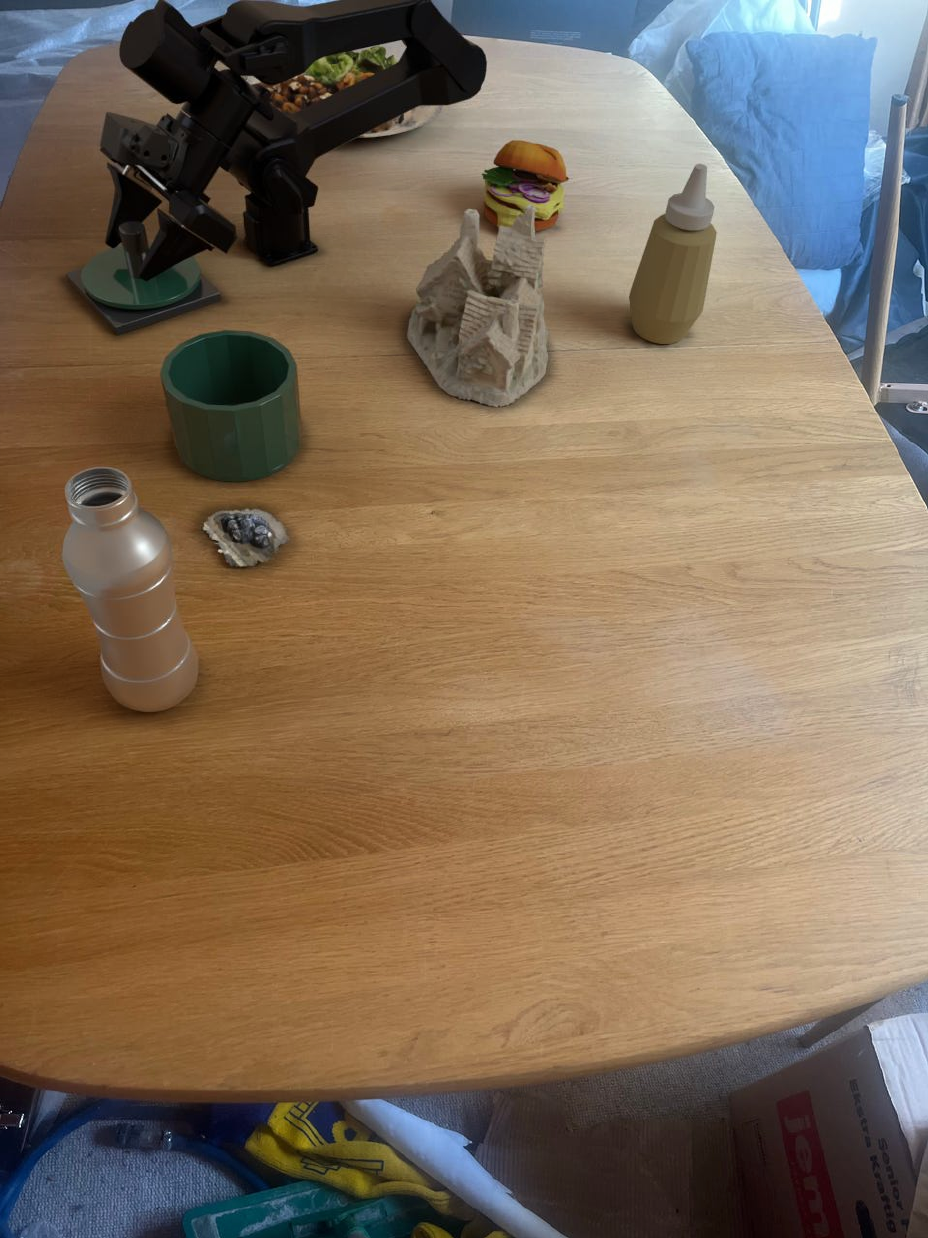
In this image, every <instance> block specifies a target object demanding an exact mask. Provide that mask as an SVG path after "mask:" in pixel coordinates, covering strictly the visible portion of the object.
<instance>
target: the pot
mask: <svg viewBox="0 0 928 1238" xmlns="http://www.w3.org/2000/svg"><path fill="white" fill-rule="evenodd" d="M298 375H299V373H298V365H297V362H296V359H295V358H294V357H293V354H292V352H291V350H290V349H289V348H288V347H286V346H285V345H283V344H282V343H280V342H279V341H278V340H276V339H275V338H274V337H270V336H267V335H264V334H261V333H258V332H255V331H249V330H231V329H223V330H217V331H211V332H205V333H201V334H198V335H195V336H193V337H192V338H188V339H187V340H184V341H183V342H180V343H178V345H176V346H175V347H174V348H173V349H172V350H171V351H170V352H169V353H168V354H167V355H166V356H165V357H164V359H163V363H162V365H161V368H160V371H159V376H160V380H161V385H162V390H163V391H162V392H163V395H164V399H165V405H166V409H167V415H168V419H169V424H170V427H171V428H170V429H171V434H172V437H173V438H172V439H173V442H174V446H175V448H176V452H177V455H178V457H179V460H180V461H181V462H182V463H183V464H184V465H185V466H186V468H188V469H190V470H191V471H193V472H194V473H196V474H197V475H200V476H202V477H204V478H207V479H211V480H215V481H219V482H230V483H240V482H241V483H242V482H249V481H250V482H251V481H255V480H261V479H263V478H267V477H269V476H271V475H273V474H276V473H278V472H280V471H281V470H283V469H284V468H285V467H287V466H288V465H289V464H290V463H291V462H292V461H293V460H294V459H295V458H296V456H297V455H298V454H299V452H300V450H301V449H300V448H301V445H302V432H303V429H302V415H301V403H300V402H301V401H300V387H299V377H298Z"/></svg>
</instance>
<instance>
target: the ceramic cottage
mask: <svg viewBox="0 0 928 1238" xmlns="http://www.w3.org/2000/svg"><path fill="white" fill-rule="evenodd" d="M534 216H535V207H534V206H533V205H531V204H528V205H527V207H526V209H525V214H521V213H520V214H519V215H518V216H517V217H516V219H515V221H514V223H513V225H512V226H511V228H508V227H505V226H501V225H500V226H499V229H498V231H497V235H496V238H495V244H494V248H493V257H492V259H487V258H486V256H485V255H484V252H483V250H482V249H481V248H480V247H479V238H480V237H479V235H480V213H479V212H478V210H477V209H473V208H467V209H465V210H464V211H463V215H462V219H461V223H460V231H459V233H460V234H459V238H457V239H456V240H454V241H453V244H452V245H451V246H450V249H448V250H446V251H445V252H443V254H442V255H441V256H440V257H439V258H438V259H435V260H434V262H433V263H430V264H428V265H427V266H426V269H425V271H424V273H423V276H422V279H421V280H420V281H419V283H418V285H417V286H416V288H415V294H416V295H417V296H418V297H419V301H418V302H417V303H416V306H415V307H414V308H412V310H411V314H410V318H409V320H408V326H407V334H406V338H407V340H408V342H409V343H410V345H411V346H412V347H413V349H414V350H415V352H416V353H417V355H418V357H419V358H420V359H421V361H423V364H424V365H425V366H426V367H427V369H428V370H429V372H430V374H431V377H433V379H434V381H435V382H436V384H437V386H438V387H439V388H440V389H441V390H443V391H444V392H445V393H447V394H448V395H449V396H452V397H456V398H458V399H459V400H462V399H463V400H467V401H471V400H472V401H474V402H477V403H478V402H479V404H480V405H482V404H483V405H487V406H488V407H494V408H499V407H505V406H509V405H510V404H513V403H515V402H516V400H518V399H520V398H521V396H523V395H526V393H528V391H529V390H531V388H533V387H534V386H536V385H537V384H538V383H540V382H541V379H543V378H544V377H545V375H546V373H547V367H548V365H547V364H548V361H549V360H548V359H549V354H548V350H547V344H548V339H549V330H548V329H547V326H546V323H545V316H544V311H545V308H546V307H545V302H544V298H543V294H542V293H541V290H540V289H542V288H543V287H544V278H543V272H544V271H543V266H544V256H545V255H544V254H545V246H546V243H547V238H546V236H540V235H536V231H535V228H534Z"/></svg>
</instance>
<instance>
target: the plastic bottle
mask: <svg viewBox="0 0 928 1238" xmlns="http://www.w3.org/2000/svg"><path fill="white" fill-rule="evenodd" d="M64 496H65V499H66V502H67V505H68V513H69V516H70V518H71V520H72V523H71V524H70V526H69V528H68V530H67V532H66V534H65V536H64V539H63V543H62V545H63V546H62V554H61V555H62V556H61V558H62V565H63V567H64V569H65V571H66V574H67V575H68V577H69V579H70V581H71V582H72V584H73V585H74V587H75V589H76V590H77V592H78V594H79V596H80V597H81V599H82V601H83V602H84V604H85V606H86V608H87V611H88V613H89V616H90V618H91V620H92V622H93V626H94V628H95V631H96V635H97V638H98V639H97V640H98V644H99V649H100V669H101V670H100V671H101V677H102V681H103V683H104V685H105V687H106V689H107V690H108V692H109V693H110V695H111V696H112V697H113V699H114V700H115V701H116V702H117V703H119V704H120V705H121V706H123V707H125V708H127V709H129V710H133V711H136V712H137V711H138V712H143V713H155V712H157V713H158V712H161V711H165V710H168V709H171V708H173V707H175V706H176V705H178V704H180V703H181V702H182V701H183V700H184V699H185V698H187V697H188V696H189V695H190V694H191V692H192V691H193V690H194V688H195V687H196V685H197V681H198V677H199V655H198V652H197V650H196V648H195V645H194V644H193V641H192V639H191V638H190V636H189V635H188V633H187V631H186V628H185V626H184V623H183V620H182V618H181V615H180V613H179V609H178V605H177V600H176V592H175V585H174V549H173V548H174V547H173V542H172V538H171V534H169V532H168V530H167V529H166V527H165V526H164V524H163V523H162V522H161V520H160V519H158V518H157V517H156V516H155V515H153V514H152V513H151V512H149V511H147V510H146V509H144V508H142V507H140V503H139V500H138V495H137V494H136V493H135V491H134V489H133V485H132V481H131V479H130V478H129V476H128V475H127V474H126V473H125V472H123V471H122V470H120V469H118V468H115V467H109V466H95V467H90V468H87V469H83V470H81V471H79V472H77V473H75V474H74V475H72V476H71V477H70V478H69V479H68V481H67V482H66V484H65V486H64Z"/></svg>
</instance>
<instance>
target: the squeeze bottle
mask: <svg viewBox="0 0 928 1238" xmlns="http://www.w3.org/2000/svg"><path fill="white" fill-rule="evenodd" d="M707 175H708V166H707V165H705V164H703V163H696V164H695V165H694V167H693V169H692V171H691V173H690V175H689V177H688V179H687V181H686V183H685V186H684V187H683V189H682V191H681V192H678V193H675V194H673V195H671V196H670V197H668V201H667V205H666V208H665V213H663V214H661V215H659V216H658V217H657V218H655V219H654V220H653V223H652V226H651V229H650V232H649V235H648V238H647V241H646V244H645V246H644V250H643V253H642V255H641V259H640V262H639V264H638V267H637V270H636V273H635V276H634V278H633V282H632V284H631V287H630V291H629V295H628V301H629V309H630V317H631V323H632V326H631V327H632V328H633V330H634V333H636V334H637V335H638V336H639V337H640V338H642V339H643V340H646V341H648V342H650V343H655V344H660V345H673V344H675V343H678V342H681V341H682V340H683V339H684V338H685V337H686V336H687V334H688V333H689V332H690V331H691V328H692V327H693V326H694V324H695V323H696V321H697V320H698V319H699V317H700V316H701V315H702V313H703V311H704V305H705V301H706V296H707V290H708V284H709V279H710V272H711V268H712V261H713V255H714V250H715V246H716V245H715V244H716V240H717V235H718V232H717V230H716V228H715V227H714V225H713V224H712V220H713V216H714V212H715V205H714V203H713V201H712V200H710V199H708V198H707V177H708V176H707Z"/></svg>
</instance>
